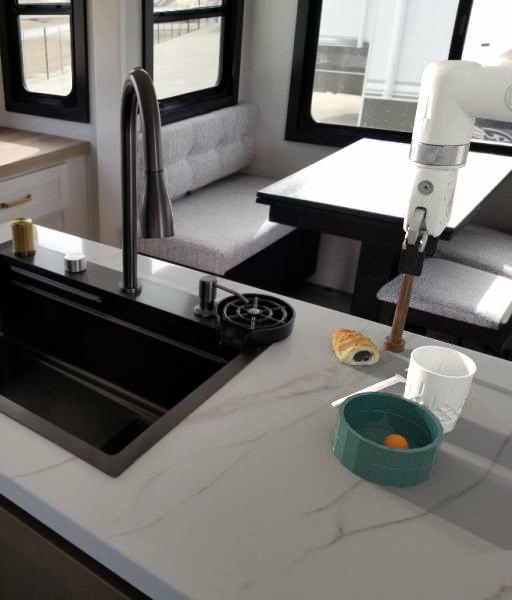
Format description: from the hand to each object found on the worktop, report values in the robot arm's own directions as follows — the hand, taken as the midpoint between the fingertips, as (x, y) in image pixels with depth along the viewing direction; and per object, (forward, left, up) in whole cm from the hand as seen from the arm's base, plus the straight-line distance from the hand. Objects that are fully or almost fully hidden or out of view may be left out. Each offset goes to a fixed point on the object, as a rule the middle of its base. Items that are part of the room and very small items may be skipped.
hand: (417, 263), depth 99 cm
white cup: (+6, +18, -16) cm, 25 cm away
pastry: (+8, 0, -16) cm, 18 cm away
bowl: (+17, +24, -16) cm, 33 cm away
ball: (+16, +23, -14) cm, 32 cm away
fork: (+9, +10, -16) cm, 21 cm away
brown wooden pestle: (+1, 0, -16) cm, 16 cm away
